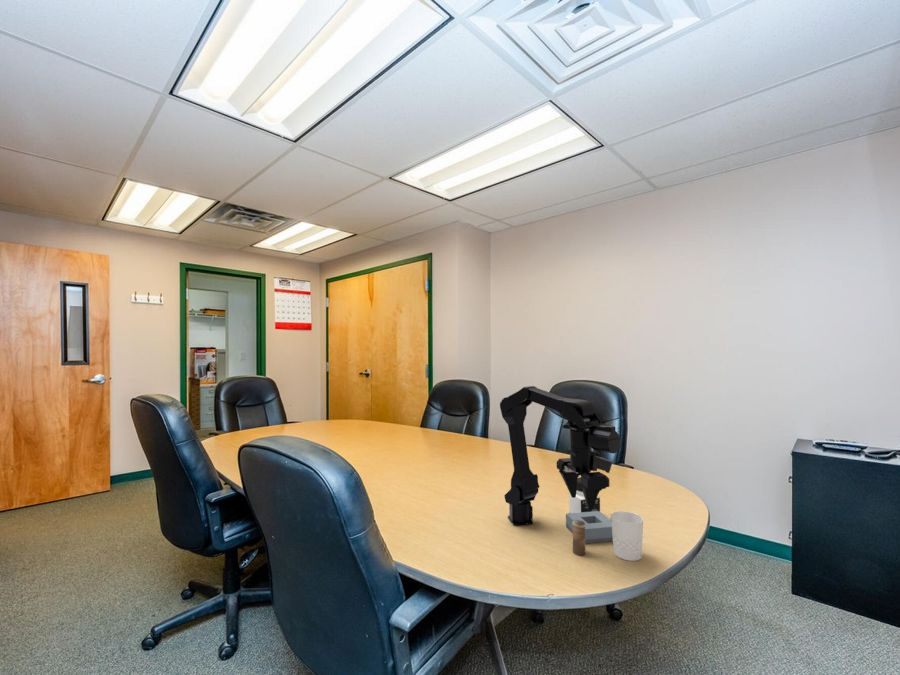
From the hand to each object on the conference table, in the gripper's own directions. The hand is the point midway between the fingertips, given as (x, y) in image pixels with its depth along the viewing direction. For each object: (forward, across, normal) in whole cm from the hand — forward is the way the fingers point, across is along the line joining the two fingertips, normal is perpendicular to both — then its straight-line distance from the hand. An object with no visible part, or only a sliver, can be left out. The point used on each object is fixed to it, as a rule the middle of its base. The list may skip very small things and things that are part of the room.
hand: (581, 503), depth 112 cm
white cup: (+13, -5, -10) cm, 17 cm away
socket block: (+12, +8, -7) cm, 16 cm away
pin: (+12, -2, +2) cm, 13 cm away
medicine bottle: (+12, +20, -12) cm, 26 cm away
